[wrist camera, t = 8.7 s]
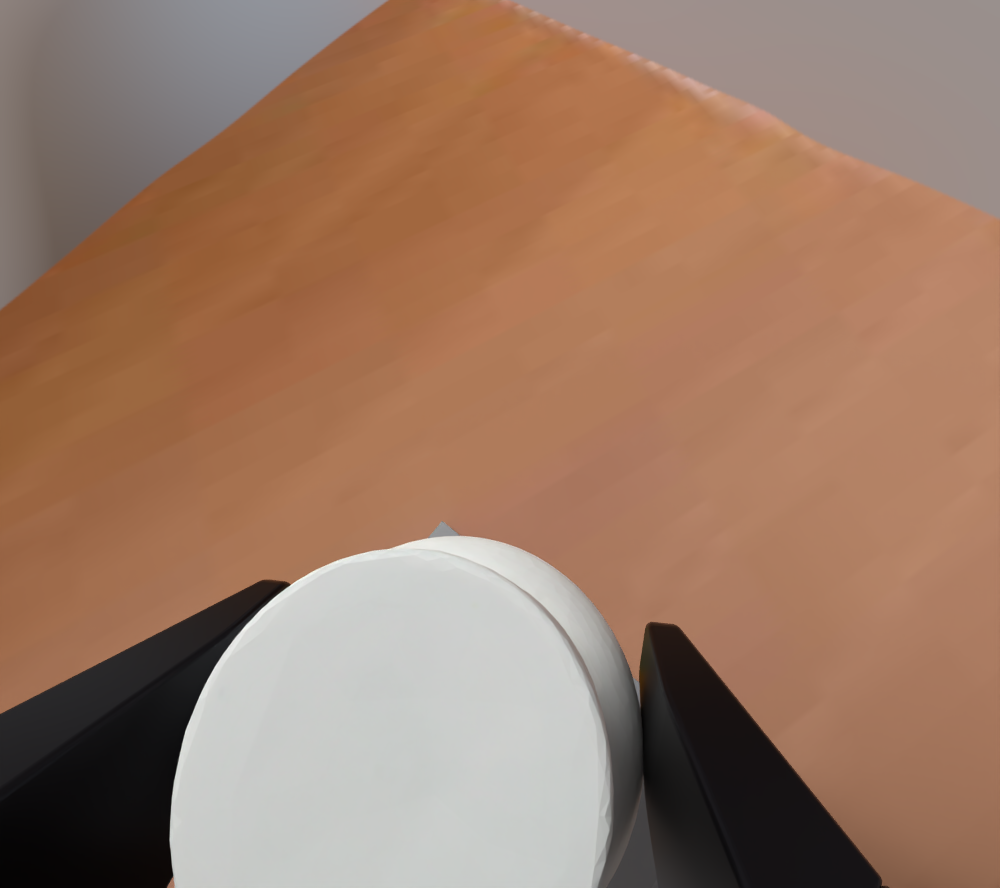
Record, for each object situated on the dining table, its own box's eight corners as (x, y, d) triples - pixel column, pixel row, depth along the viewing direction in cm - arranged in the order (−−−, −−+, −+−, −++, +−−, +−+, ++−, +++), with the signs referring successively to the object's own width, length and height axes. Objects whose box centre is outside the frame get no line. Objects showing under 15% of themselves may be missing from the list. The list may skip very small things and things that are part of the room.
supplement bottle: (359, 736, 13) (-43, 912, 4) (460, 549, 15) (307, 402, 6) (549, 864, 12) (510, 1492, 3) (639, 643, 13) (788, 633, 5)
